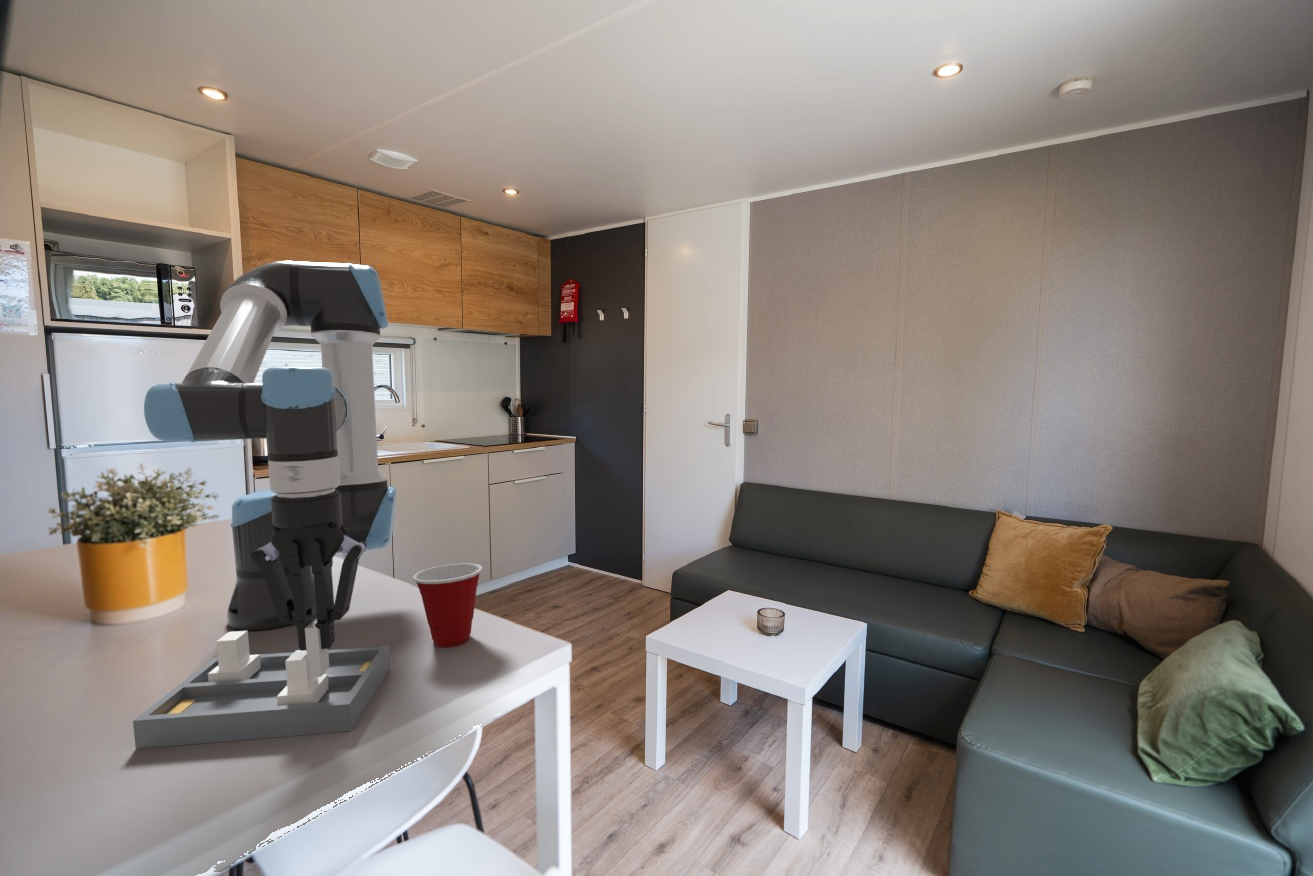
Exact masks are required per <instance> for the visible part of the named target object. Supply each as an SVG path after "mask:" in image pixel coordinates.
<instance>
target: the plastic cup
mask: <svg viewBox="0 0 1313 876" xmlns="http://www.w3.org/2000/svg"><path fill="white" fill-rule="evenodd" d="M482 570H483V566H482V565H481V564H477V563H476V564H475V563H465V562H463V563H451V564H449V563H448V564H443V565H438V566H433V567H430V568H427V569H423V570H420V571H418V572H415V574H414V575H413V576H412V579H413V580H414V582H415V583H416V585H417V588H418V589H419V594H420V595H421V601H422V604H423V609H424V611H425V616H426V621H427V624H428V627H429V632H430V636H431V639H432V642H433V643H434V646H437V647H440V648H450V647H451V648H453V647H456V646H460V645H462V644H465V643H466V642H468V641H469V639H470V636H471V632H472V624H473V618H474V613H475V606H476V597H477V590H478V589H477V588H478V583H479V580H480V574H481V572H482Z"/></svg>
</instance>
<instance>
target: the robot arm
mask: <svg viewBox="0 0 1313 876" xmlns="http://www.w3.org/2000/svg"><path fill="white" fill-rule="evenodd" d="M385 303H386V302H385V299H384V294H383V289H382V284H381V281H380V277H379V274H378V272H377V270H376V269H375V268H373V266H370V265H366V264H365V265H362V264H354V263H351V262H345V263H340V262H320V261H319V262H316V261H315V262H314V261H295V260H279V261H272V262H269V263H265V264H262V265H259V266H257V267H255V268H253V269H251V270H248V271H247V272H245V273H243V274H242V275H240V276H238V277H237V278H236V279H235V280H233V281H232V283H230V284H229V285H228V287H227V288H226V289H225V290H224V293H223V295H222V296H221V298H220V302H219V304H220V305H219V306H220V311H221V313H220V315H219V317H218V319H217V320H216V322H215V324H214V326H213V328H212V329H211V331H210V333H209V334H208V336H207V338H206V340H205V342H204V344H203V345H202V347H201V349H200V351H199V352H198V354H197V356H196V358H194V360H193V361H194V362H192V365H191V366H190V367H189V370H188V372H187V373H186V375H185V376H184V378H183V379H182V381H181V383H179V382H173V381H172V382H169V383H161V384H160V383H158V384H155V385H153V386H152V385H151V387H149V389H148V391H147V392H146V395H145V398H144V403H143V415H144V420H145V422H146V426H147V428H148V431H149V432H150V434H151V435H152V436H153V437H154V438H156V439H157V440H159V441H163V442H190V443H195V442H212V441H232V440H233V441H234V440H257V439H259V440H261V439H262V440H263V439H265V440H266V449H267V460H268V461H267V463H268V475H269V476H268V477H269V479H268V480H269V488H267V489H263V490H260V491H256V492H253V493H252V492H251V493H249V494H246V495H243V496H240V497H239V498H237V499H236V500H235V501H234V502H233V504H232V506H231V524H230V527H231V529H232V530H231V531H232V538H233V539H232V540H233V551H234V562H235V572H236V581H235V584H234V588H233V591H232V594H231V598H230V602H229V604H228V608H227V613H226V614H227V623H228V626H229V627H230V628H232V629H235V630H239V631H261V630H269V629H270V630H271V629H276V628H277V629H278V628H281V627H287V626H290V625H294V626H295V627H296V631H297V642H298V650H301V651H303V650H306V651H307V664H308V678H314V677H321V676H322V675H323V674H324V673H325V671H326V670H327V669H328V668H329V654H328V650H330V648H332V646H333V645H335V641H336V635H335V634H336V633H335V621H340V620H341V619H342V618H344V616H345V615H346V614H347V613H348V612H349V610H350V608H351V607H350V606H351V602H352V596H353V592H354V588H355V582H356V576H357V571H358V567H359V561H360V559H361V557H362V555H363V554H364V552H366V551H371V550H372V551H373V550H377V549H378V550H379V549H383V548H386V547H387V546H388V545H389V544H390V542H391V540H392V536H393V531H394V522H395V515H396V504H397V503H396V501H397V489H396V487H392V486H388V477H386V476H385V475H384V474H383V473H382V472H380V470H379V457H378V442H377V441H378V440H377V439H378V437H377V421H376V420H377V419H376V401H375V400H376V398H375V379H374V362H373V361H374V360H373V359H374V358H373V346H374V344H375V343H376V342H378V341H379V340H380V338H381V329H382V330H384V329H385V328H388V326H389V322H388V315H387V309H386V304H385ZM290 326H292V327H293V326H294V327H295V326H296V327H297V326H299V327H310V337H311V338H313V339H314V340H315V341H317V342H318V343H319V345H320V350H321V353H320V354H321V367H319V366H315V367H314V366H311V367H310V366H283V367H282V366H279V367H277V366H273V367H268V368H266V369H264V371H263V373H262V376H261V378H262V380H261V381H262V382H256V381H255V380H256V378H257V376H258V373H259V371H260V368H261V366H262V363H263V361H264V358H265V357H266V354H267V351H268V349H269V346H270V344H271V341H272V338H273V337H274V335H275V334H276V333H279V332H280V331H281V330H282V329H283V328H284V327H290ZM339 553H340V554H341V553H342V557H344V559H343V562H342V564H341V569H340V574H339V580H338V585H337V589H336V594H335V597H334V583H333V569H332V568H333V564H334V561H333V559H334V557H335V556H336V554H339ZM334 598H335V599H334ZM315 616H316V619H313V618H314V617H315Z"/></svg>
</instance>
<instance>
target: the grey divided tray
mask: <svg viewBox="0 0 1313 876" xmlns="http://www.w3.org/2000/svg"><path fill="white" fill-rule="evenodd" d="M294 652H295V651H294ZM294 652H279V653H276V652H275V653H263V654H260V663H261V668H260V669H259V670H258V671H257V672H256V673H255V674H254V675H253V676H251V677H250V678H249V679H245V680H230V681H216V682H209V681H208V673H209V672H211V671H212V670H213V669H214V668H216V667H217V666H218V656H217V657H213V658H211V659H210V660H209V661H208V662H207V663H205V664H204V665H203V666H201V667H200V668H199V669H197V670H196V671H195V672H193V673H192V674H191V675H190V676H189V677H187V678H186V679H185V680H183V681H182V682H181V683H180V684H178V685H177V686H176V687H174V688H173V689H171V690H170V691H169V692H168V693H167V694H165V695H164V696H163V697H161V698H160V699H159V700H157V701H156V702H155V703H154V704H152V705H151V706H149V708H147V709H146V710H145V711H143V712H142V713H141V714H139V715H138V716H137V717H136V718H135V719H133V720H132V726H133V727H132V728H133V735H134V737H133V738H134V745H135V749H136V750H137V749H138V750H139V749H149V748H151V749H152V748H161V747H162V748H163V747H175V746H176V747H177V746H186V745H198V744H210V743H211V744H212V743H213V744H214V743H223V742H234V741H235V742H237V741H245V740H247V741H249V740H259V739H270V738H271V739H273V738H284V737H295V736H305V735H306V736H307V735H319V734H321V735H322V734H331V733H333V734H334V733H342V732H345V733H346V732H351V731H353V729H354V727H355V726H356V724H357V722H358V721H359V719H360V718H361V717H362V714H363V713H364V711H365V710H366V708H367V707H368V705H369V703H370V702H371V700H372V698H373V697H374V696H375V693H376V692H377V690H378V689H379V688H380V686H381V685H382V683H383V681H384V680H385V678H386V676H387V675H388V673H389V672H390V670H391V655H390V654H391V653H390V645H386V646H385V645H384V646H372V647H370V646H369V647H368V646H367V647H357V648H356V647H353V648H337V649H328V654H329V668H328V669H327V670H326V671H325V673H324V674H328V685H329V689H328V690H327V691H326V692H325V694H324V695H323V696H322V697H321V699H320V700H319V701H318V702H317V703H304V704H291V705H278V706H277V696H278V694H279V693H280V692H281V691H282V690H283V689H284V688H285V687H286V686H287V677H286V664H285V661H286V660H287V659H288V658H289V657H290V656H291V655H292V654H293V653H294Z"/></svg>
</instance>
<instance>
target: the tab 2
mask: <svg viewBox="0 0 1313 876" xmlns="http://www.w3.org/2000/svg"><path fill="white" fill-rule="evenodd" d="M285 664H286V677H287V686H286V687H285V688H284V689H283V690H282V691H281V692H280V693H279V694H278V696H277V706H278V705H291V704H304V703H317V702H318V701H319V700H320V699H321V697H322V696H323V695H324V694H325V692H326V691H327V690H328V689H329V685H328V674H323V675H322V676H321V677H314V678H308V664H307V651H306V650H303V651H301V650H300V649H296V650H295V651H294V653H293V654H292V655H291V656H290V657H289V658H288V659H287V660H286V661H285Z"/></svg>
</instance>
